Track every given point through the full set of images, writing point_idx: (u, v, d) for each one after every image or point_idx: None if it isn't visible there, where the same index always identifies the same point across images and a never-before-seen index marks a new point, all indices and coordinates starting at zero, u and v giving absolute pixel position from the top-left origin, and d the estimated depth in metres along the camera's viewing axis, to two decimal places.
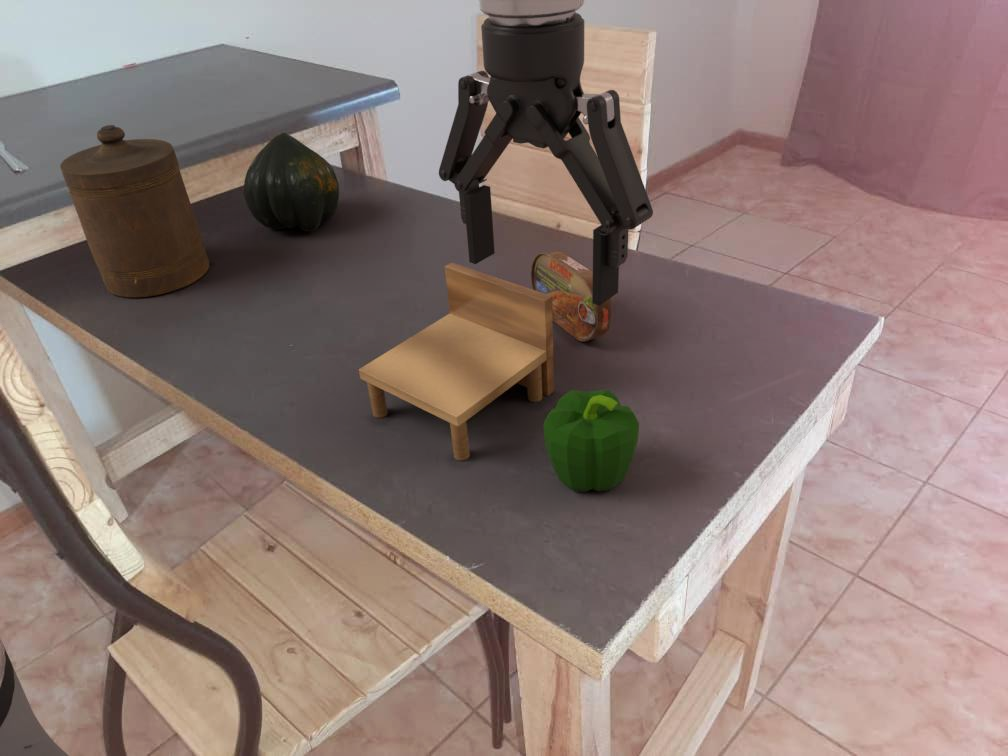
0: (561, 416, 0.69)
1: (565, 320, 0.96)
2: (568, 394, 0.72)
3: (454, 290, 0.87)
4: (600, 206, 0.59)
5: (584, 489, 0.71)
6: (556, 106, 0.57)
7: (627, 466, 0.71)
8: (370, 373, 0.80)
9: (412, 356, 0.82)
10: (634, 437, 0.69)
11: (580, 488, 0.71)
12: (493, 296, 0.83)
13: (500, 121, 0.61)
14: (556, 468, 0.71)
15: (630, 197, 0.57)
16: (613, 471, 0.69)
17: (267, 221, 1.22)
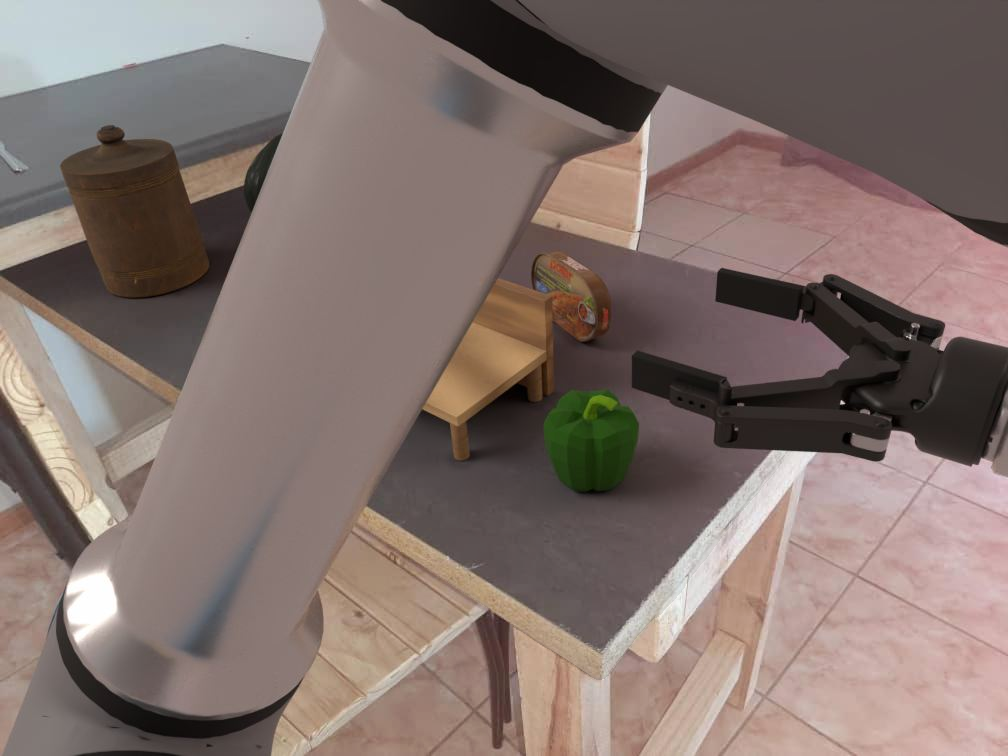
0: (561, 416, 0.69)
1: (565, 320, 0.96)
2: (568, 394, 0.72)
3: None
4: (753, 392, 0.48)
5: (584, 489, 0.71)
6: (888, 392, 0.47)
7: (627, 466, 0.71)
8: None
9: None
10: (634, 437, 0.69)
11: (580, 488, 0.71)
12: (493, 296, 0.83)
13: (885, 338, 0.51)
14: (556, 468, 0.71)
15: (754, 423, 0.47)
16: (613, 471, 0.69)
17: None
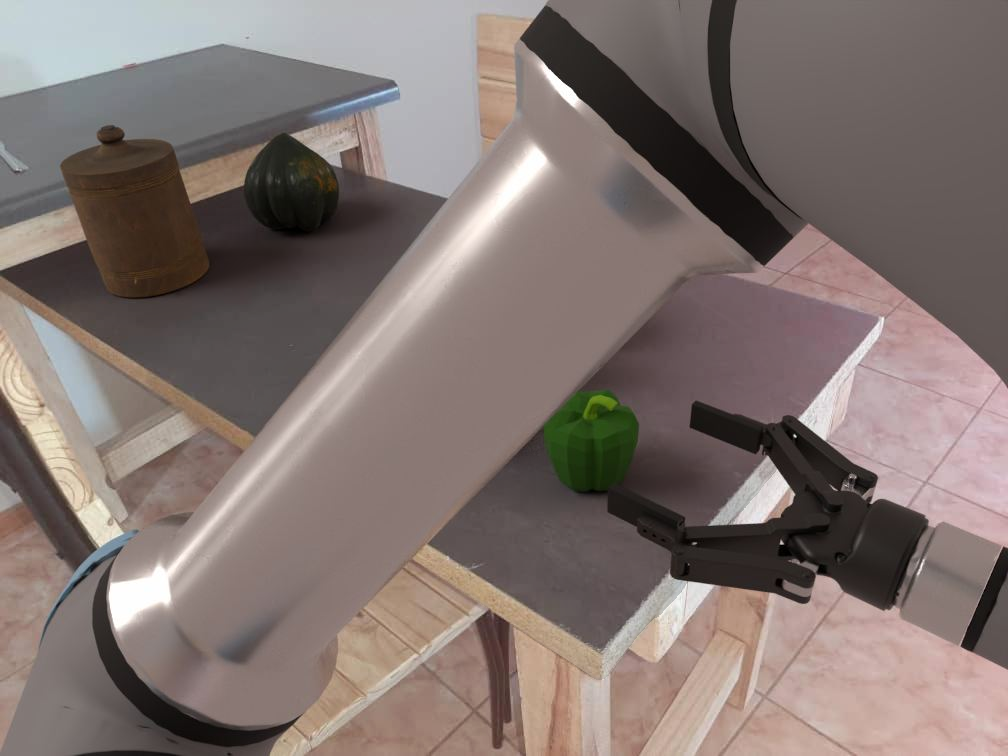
0: (561, 416, 0.69)
1: None
2: None
3: None
4: (705, 534, 0.58)
5: (584, 489, 0.71)
6: (818, 543, 0.56)
7: (627, 466, 0.71)
8: None
9: None
10: (634, 437, 0.69)
11: (580, 488, 0.71)
12: None
13: (824, 489, 0.60)
14: (556, 468, 0.71)
15: (703, 564, 0.56)
16: (613, 471, 0.69)
17: (267, 221, 1.22)
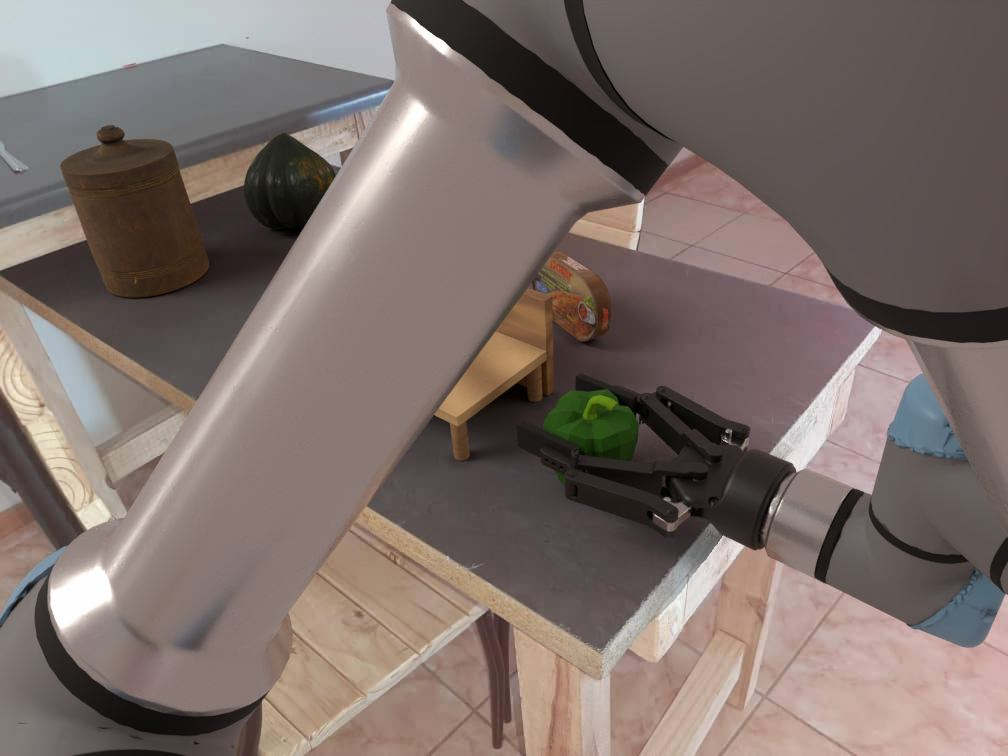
0: (561, 416, 0.69)
1: (565, 320, 0.96)
2: (568, 394, 0.72)
3: None
4: (595, 463, 0.65)
5: None
6: (696, 489, 0.62)
7: None
8: None
9: None
10: (634, 437, 0.69)
11: None
12: None
13: (703, 444, 0.65)
14: None
15: (587, 487, 0.63)
16: None
17: (267, 221, 1.22)
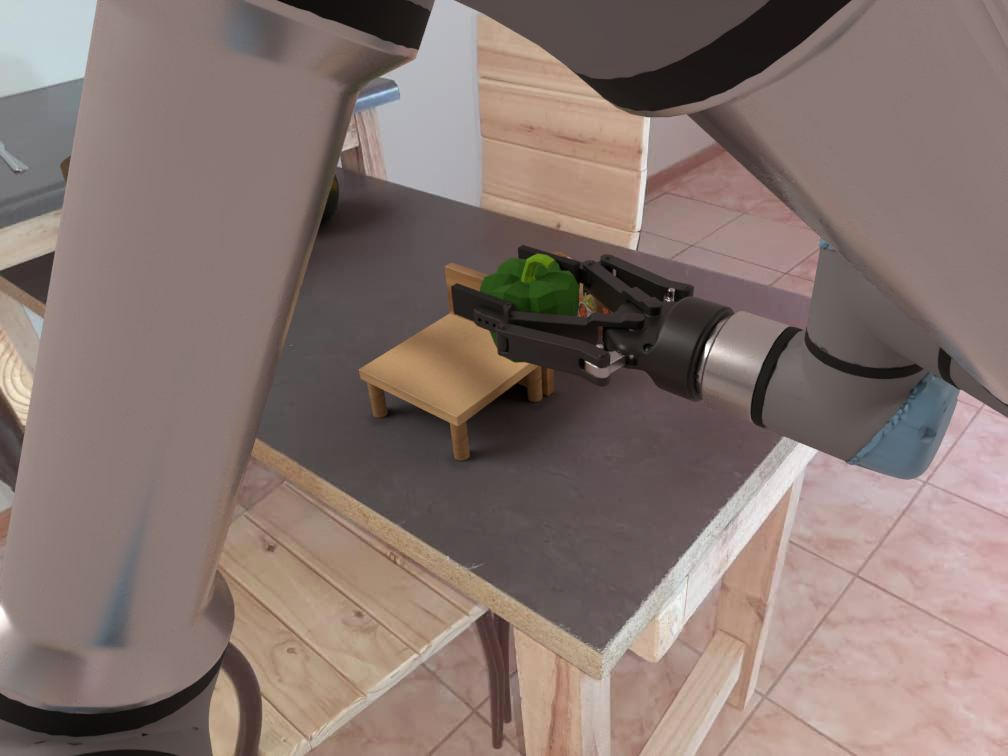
0: (497, 278, 0.66)
1: None
2: (507, 261, 0.69)
3: None
4: (528, 317, 0.62)
5: None
6: (631, 337, 0.59)
7: None
8: (370, 373, 0.80)
9: (412, 356, 0.82)
10: (573, 299, 0.66)
11: None
12: None
13: (643, 298, 0.62)
14: (494, 336, 0.68)
15: (518, 339, 0.60)
16: None
17: None
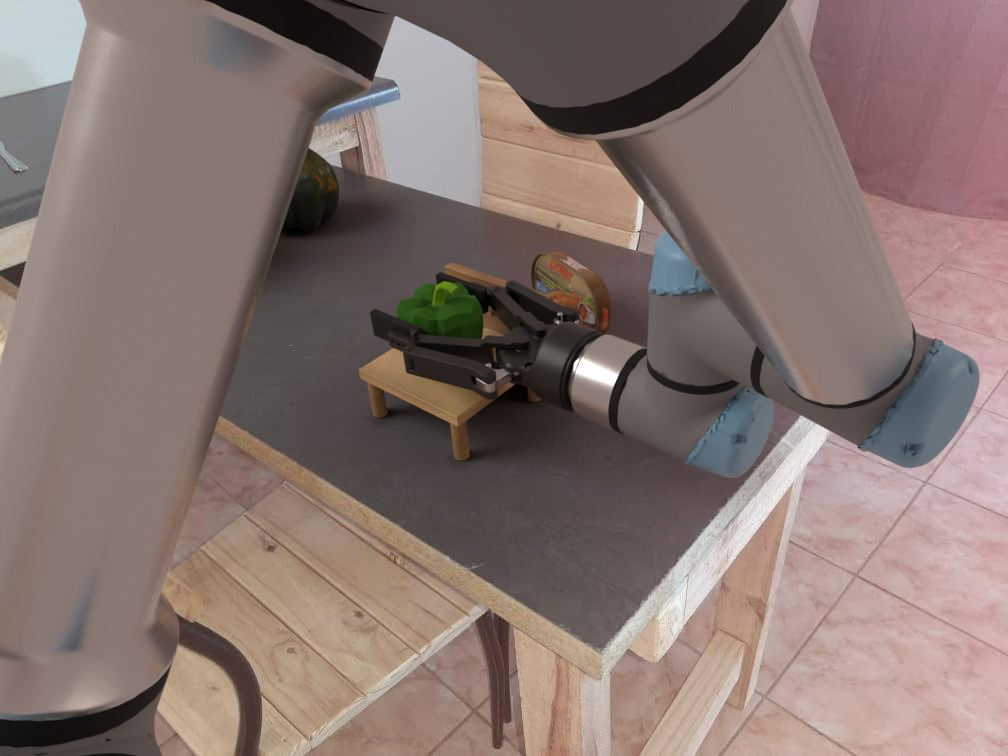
0: (411, 302, 0.76)
1: None
2: (422, 286, 0.79)
3: None
4: (432, 340, 0.71)
5: None
6: (516, 357, 0.68)
7: None
8: (370, 373, 0.80)
9: None
10: (476, 321, 0.75)
11: None
12: None
13: (532, 322, 0.72)
14: None
15: (421, 359, 0.70)
16: None
17: None
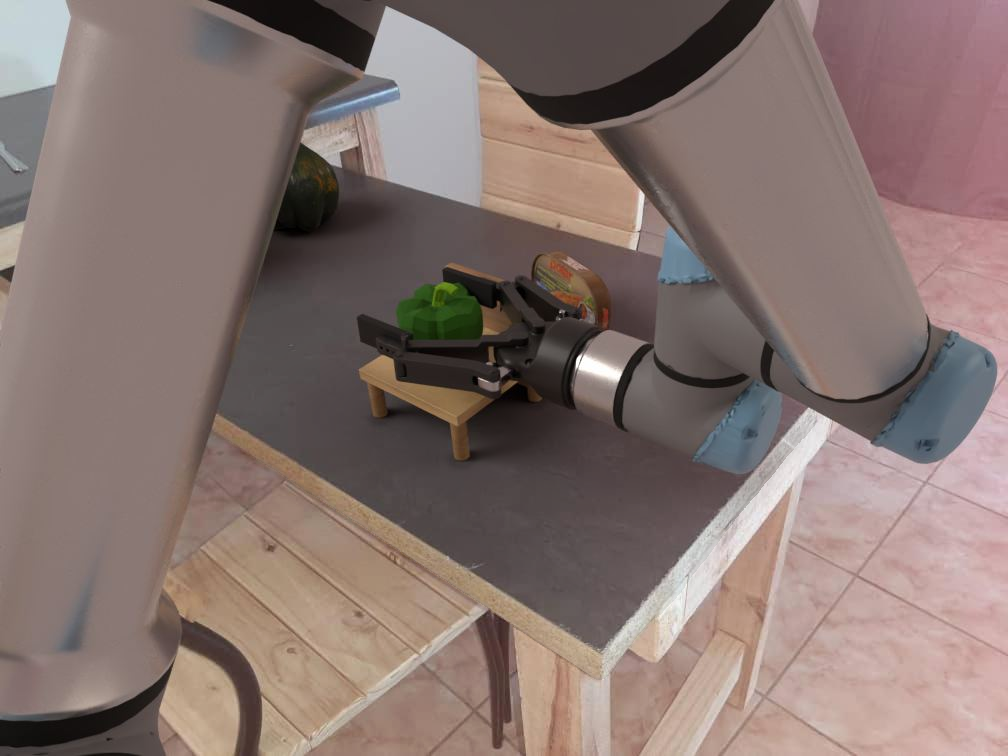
0: (410, 303, 0.76)
1: None
2: (422, 287, 0.79)
3: None
4: (424, 344, 0.68)
5: None
6: (515, 353, 0.67)
7: None
8: (370, 373, 0.80)
9: None
10: (476, 322, 0.75)
11: None
12: None
13: (532, 318, 0.70)
14: None
15: (415, 364, 0.66)
16: None
17: None
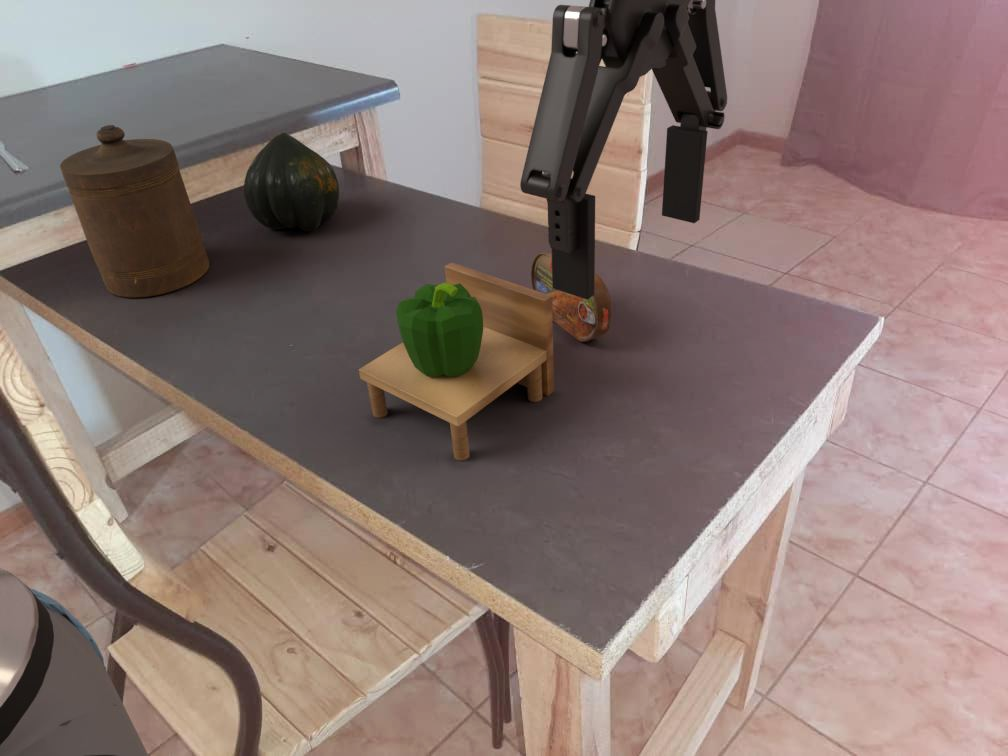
0: (410, 303, 0.76)
1: (565, 320, 0.96)
2: (423, 287, 0.79)
3: None
4: None
5: (434, 373, 0.78)
6: None
7: (472, 352, 0.77)
8: (370, 373, 0.80)
9: None
10: (476, 323, 0.75)
11: (431, 372, 0.78)
12: (493, 296, 0.83)
13: None
14: (409, 353, 0.77)
15: (533, 151, 0.43)
16: (457, 355, 0.76)
17: (267, 221, 1.22)
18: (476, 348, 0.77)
